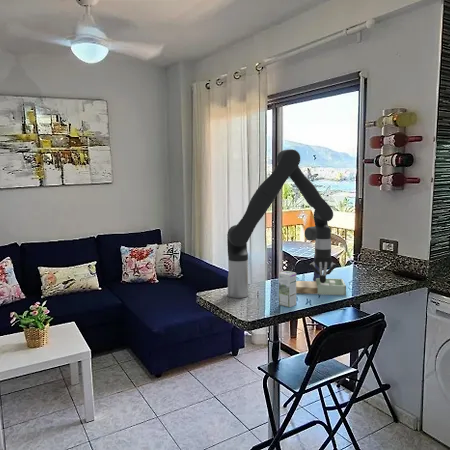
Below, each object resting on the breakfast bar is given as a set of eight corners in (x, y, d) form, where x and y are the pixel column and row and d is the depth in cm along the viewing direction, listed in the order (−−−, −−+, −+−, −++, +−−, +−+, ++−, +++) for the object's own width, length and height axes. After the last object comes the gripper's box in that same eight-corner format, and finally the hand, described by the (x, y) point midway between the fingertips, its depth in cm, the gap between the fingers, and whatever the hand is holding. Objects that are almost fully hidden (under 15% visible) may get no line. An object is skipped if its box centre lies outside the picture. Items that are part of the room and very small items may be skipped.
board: (291, 293, 203) (291, 286, 203) (291, 286, 215) (291, 280, 214) (317, 293, 201) (317, 287, 201) (315, 287, 213) (316, 281, 213)
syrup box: (296, 304, 185) (297, 272, 183) (289, 307, 181) (289, 274, 179) (285, 302, 189) (285, 270, 187) (278, 305, 184) (278, 272, 183)
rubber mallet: (311, 285, 215) (312, 227, 212) (302, 282, 222) (303, 226, 219) (330, 282, 221) (331, 225, 218) (321, 279, 228) (322, 224, 224)
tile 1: (320, 290, 205) (321, 285, 204) (320, 288, 209) (320, 283, 208) (329, 290, 204) (329, 285, 204) (328, 288, 208) (328, 283, 208)
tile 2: (330, 282, 204) (335, 282, 204) (329, 280, 208) (334, 280, 208) (329, 290, 204) (335, 290, 204) (328, 288, 208) (334, 288, 208)
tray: (317, 294, 200) (317, 285, 200) (315, 286, 214) (315, 278, 213) (345, 295, 198) (346, 286, 198) (342, 287, 212) (342, 278, 211)
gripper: (309, 248, 202) (309, 284, 204) (338, 249, 200) (337, 284, 202) (308, 246, 209) (308, 280, 211) (336, 246, 207) (335, 280, 209)
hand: (322, 282), depth 206 cm, fingers closed
